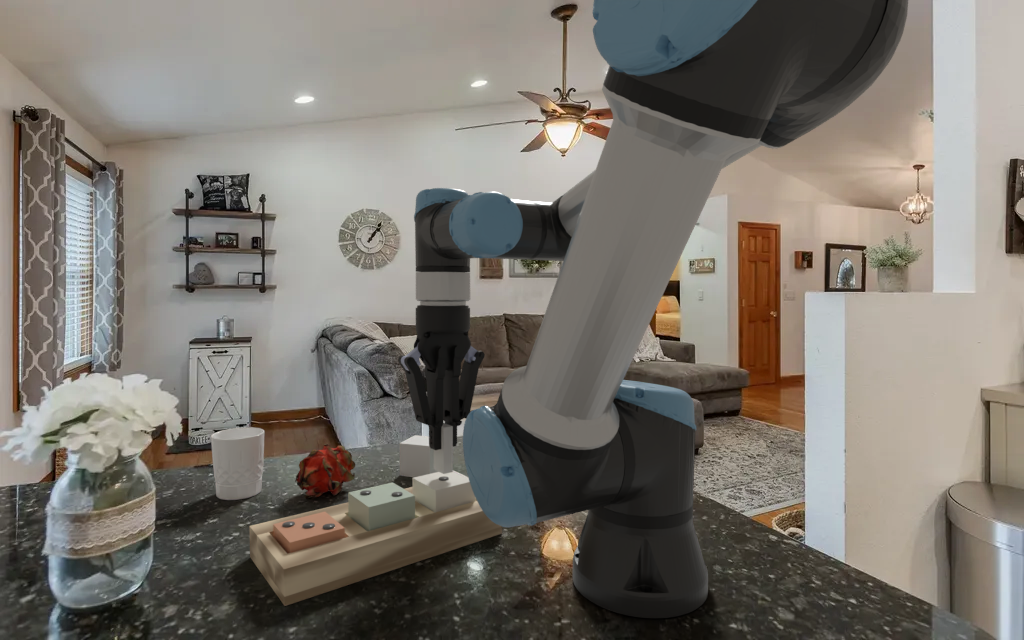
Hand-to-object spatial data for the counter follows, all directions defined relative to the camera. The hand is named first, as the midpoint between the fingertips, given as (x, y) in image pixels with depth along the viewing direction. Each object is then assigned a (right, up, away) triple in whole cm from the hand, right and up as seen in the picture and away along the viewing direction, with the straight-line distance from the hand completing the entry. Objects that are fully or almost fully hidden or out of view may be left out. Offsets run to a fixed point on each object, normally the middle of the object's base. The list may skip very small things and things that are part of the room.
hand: (443, 470), depth 80 cm
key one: (0, -5, 0) cm, 5 cm away
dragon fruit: (-21, -8, +13) cm, 26 cm away
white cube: (-7, -7, +24) cm, 26 cm away
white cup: (-35, -7, +13) cm, 38 cm away
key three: (-15, -8, -12) cm, 20 cm away
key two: (-7, -6, -6) cm, 11 cm away
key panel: (-7, -8, -6) cm, 12 cm away
